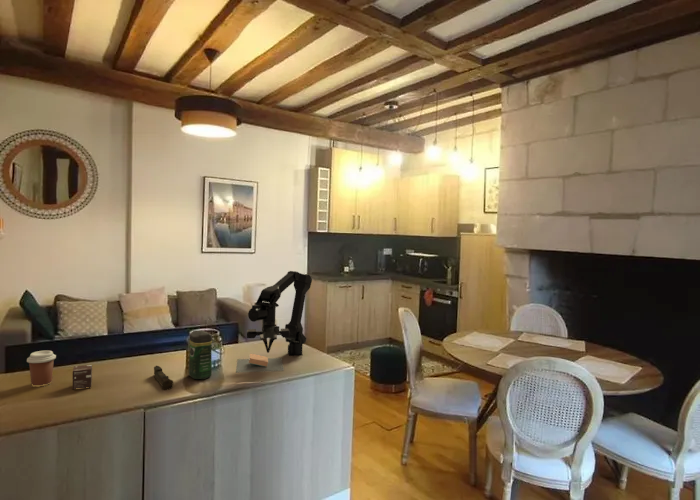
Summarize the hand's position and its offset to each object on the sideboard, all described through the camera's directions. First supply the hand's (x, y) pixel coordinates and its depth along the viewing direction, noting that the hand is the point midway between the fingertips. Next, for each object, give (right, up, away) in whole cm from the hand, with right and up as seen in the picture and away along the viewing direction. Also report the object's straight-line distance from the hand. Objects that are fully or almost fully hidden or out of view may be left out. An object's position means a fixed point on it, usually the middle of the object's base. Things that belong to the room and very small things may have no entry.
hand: (268, 352), depth 195 cm
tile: (0, -4, 0) cm, 4 cm away
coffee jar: (-25, -6, -15) cm, 30 cm away
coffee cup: (-80, -6, -29) cm, 86 cm away
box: (-64, -6, -30) cm, 71 cm away
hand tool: (-38, -7, -23) cm, 45 cm away
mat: (-4, -6, 0) cm, 7 cm away
